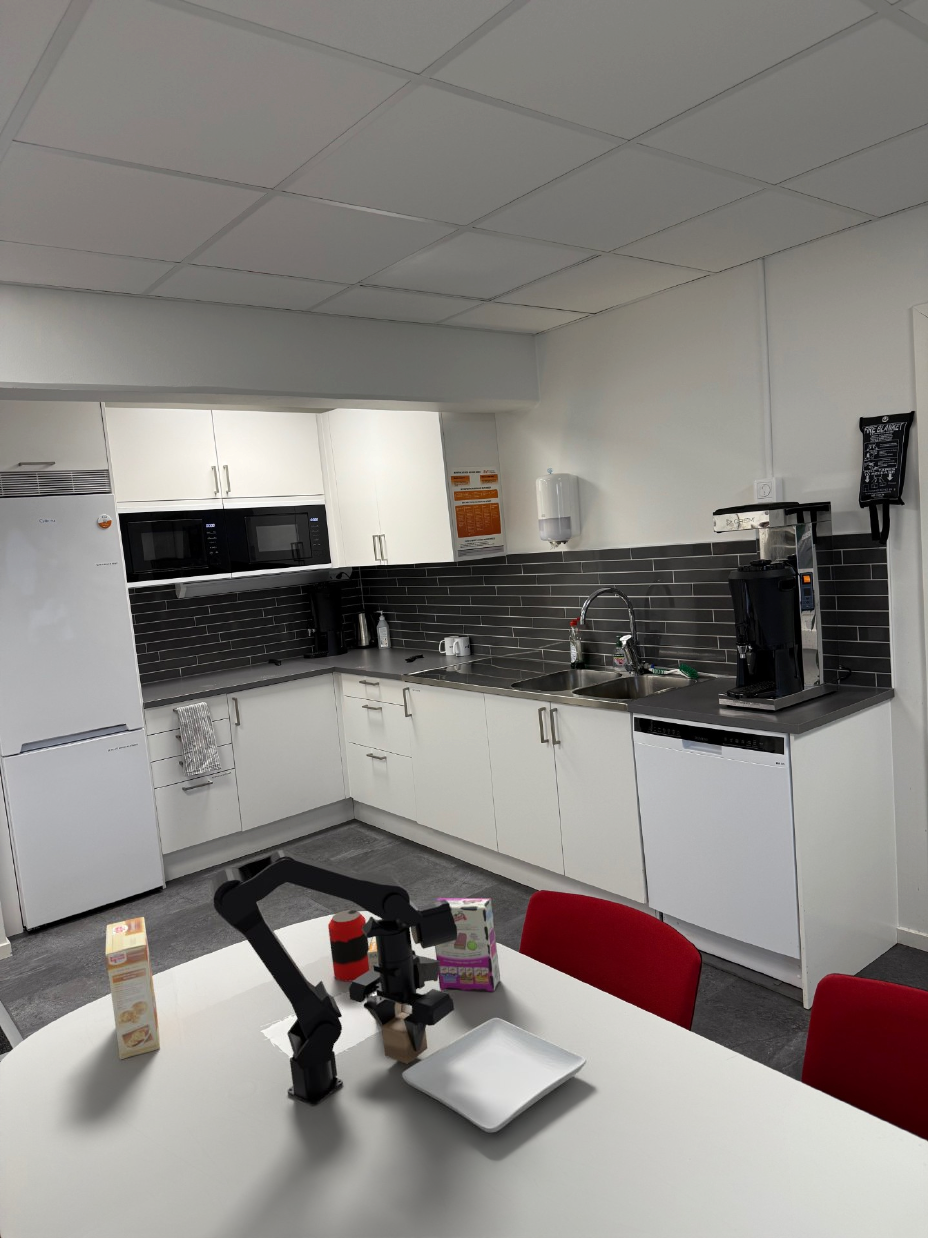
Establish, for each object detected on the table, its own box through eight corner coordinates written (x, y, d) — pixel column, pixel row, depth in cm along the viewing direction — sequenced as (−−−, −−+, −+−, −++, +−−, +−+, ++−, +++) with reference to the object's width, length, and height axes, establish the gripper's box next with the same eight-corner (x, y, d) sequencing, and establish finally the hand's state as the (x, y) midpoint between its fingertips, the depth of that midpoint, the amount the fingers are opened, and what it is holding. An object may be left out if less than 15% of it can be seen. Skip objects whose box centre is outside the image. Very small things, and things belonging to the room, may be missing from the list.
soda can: (378, 967, 177) (372, 911, 177) (355, 984, 171) (348, 926, 170) (350, 961, 181) (343, 906, 181) (326, 978, 175) (319, 921, 174)
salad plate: (399, 1092, 135) (397, 1071, 135) (497, 1033, 149) (495, 1013, 149) (492, 1153, 119) (490, 1129, 119) (591, 1080, 133) (589, 1058, 133)
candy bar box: (501, 979, 167) (492, 897, 166) (494, 993, 162) (485, 908, 161) (446, 977, 170) (437, 896, 169) (438, 990, 165) (429, 907, 164)
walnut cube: (407, 1064, 139) (404, 1034, 139) (385, 1055, 142) (381, 1026, 142) (427, 1048, 143) (424, 1019, 143) (405, 1040, 146) (401, 1012, 146)
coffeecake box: (161, 1049, 155) (146, 944, 153) (118, 1061, 152) (103, 955, 151) (158, 1011, 169) (144, 915, 167) (119, 1022, 166) (105, 924, 165)
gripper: (469, 945, 142) (479, 1036, 143) (387, 925, 154) (396, 1009, 155) (426, 975, 133) (436, 1072, 135) (342, 951, 145) (352, 1040, 146)
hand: (405, 1046), depth 143 cm, fingers closed on walnut cube, 5 cm apart
